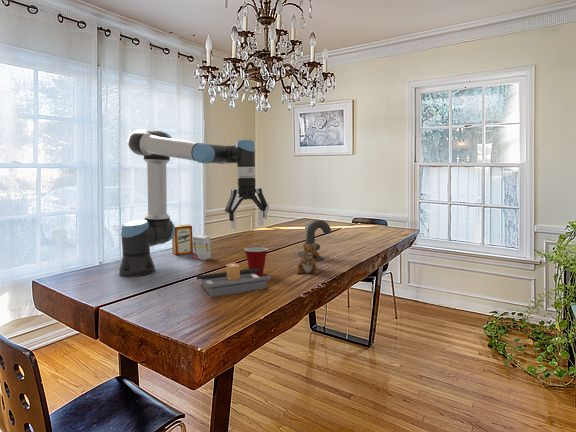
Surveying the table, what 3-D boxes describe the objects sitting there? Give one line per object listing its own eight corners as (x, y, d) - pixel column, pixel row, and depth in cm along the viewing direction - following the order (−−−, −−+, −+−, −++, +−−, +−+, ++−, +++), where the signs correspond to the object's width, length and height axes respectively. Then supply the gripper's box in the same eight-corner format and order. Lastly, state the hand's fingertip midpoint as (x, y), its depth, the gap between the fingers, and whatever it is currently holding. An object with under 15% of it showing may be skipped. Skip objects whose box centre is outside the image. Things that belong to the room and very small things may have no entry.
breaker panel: (211, 297, 141) (211, 288, 140) (201, 285, 155) (201, 277, 155) (266, 288, 150) (266, 280, 150) (252, 278, 165) (251, 271, 164)
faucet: (337, 260, 197) (338, 222, 194) (309, 262, 192) (309, 223, 189) (324, 252, 214) (324, 217, 211) (297, 254, 209) (297, 218, 207)
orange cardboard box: (176, 255, 207) (174, 226, 205) (172, 253, 212) (171, 225, 210) (192, 253, 212) (191, 225, 210) (189, 251, 217) (188, 223, 215)
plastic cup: (268, 270, 176) (268, 245, 175) (268, 277, 166) (268, 250, 164) (245, 271, 176) (244, 245, 175) (243, 277, 165) (242, 250, 164)
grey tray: (205, 289, 140) (205, 285, 140) (196, 279, 153) (196, 275, 153) (271, 280, 152) (271, 276, 152) (258, 271, 165) (258, 267, 165)
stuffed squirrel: (295, 274, 170) (295, 245, 169) (299, 266, 184) (299, 239, 182) (317, 275, 169) (318, 246, 167) (320, 267, 183) (320, 240, 181)
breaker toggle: (230, 281, 149) (230, 266, 149) (226, 277, 154) (226, 263, 153) (240, 279, 151) (239, 265, 150) (236, 276, 155) (235, 262, 155)
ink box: (192, 258, 201) (192, 236, 200) (199, 256, 205) (199, 234, 204) (204, 260, 197) (203, 237, 195) (211, 258, 201) (210, 236, 199)
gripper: (224, 178, 149) (225, 231, 152) (275, 176, 164) (276, 225, 167) (215, 177, 155) (217, 229, 158) (266, 176, 170) (267, 223, 173)
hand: (247, 227), depth 162 cm, fingers open, 13 cm apart
